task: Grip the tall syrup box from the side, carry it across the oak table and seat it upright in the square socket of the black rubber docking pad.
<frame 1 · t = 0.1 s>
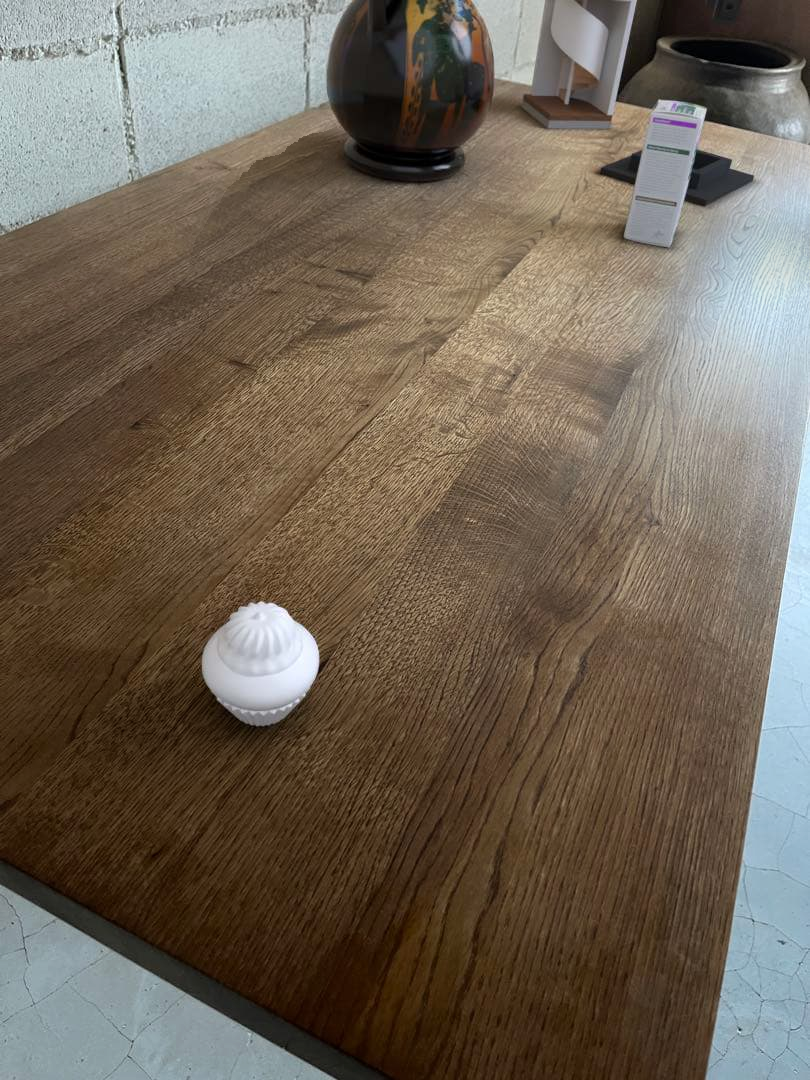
hand: (719, 15, 90), 25 cm above the table, tool pointing down, fingers open, 8 cm apart
syrup box: (648, 237, 111), on the table
muffin: (262, 706, 51), on the table
amphora vase: (403, 165, 124), on the table
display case: (564, 119, 149), on the table
dock pad: (677, 177, 129), on the table
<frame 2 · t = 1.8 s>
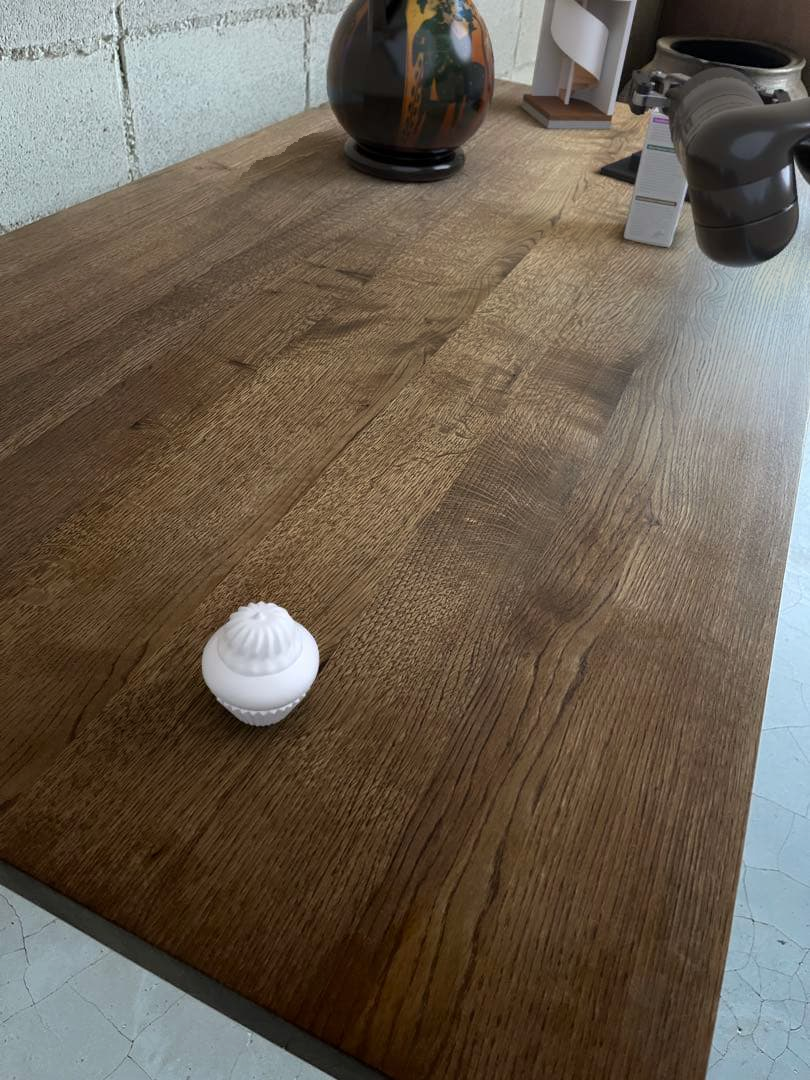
hand: (701, 83, 90), 19 cm above the table, tool horizontal, fingers open, 8 cm apart
nothing on the table moved.
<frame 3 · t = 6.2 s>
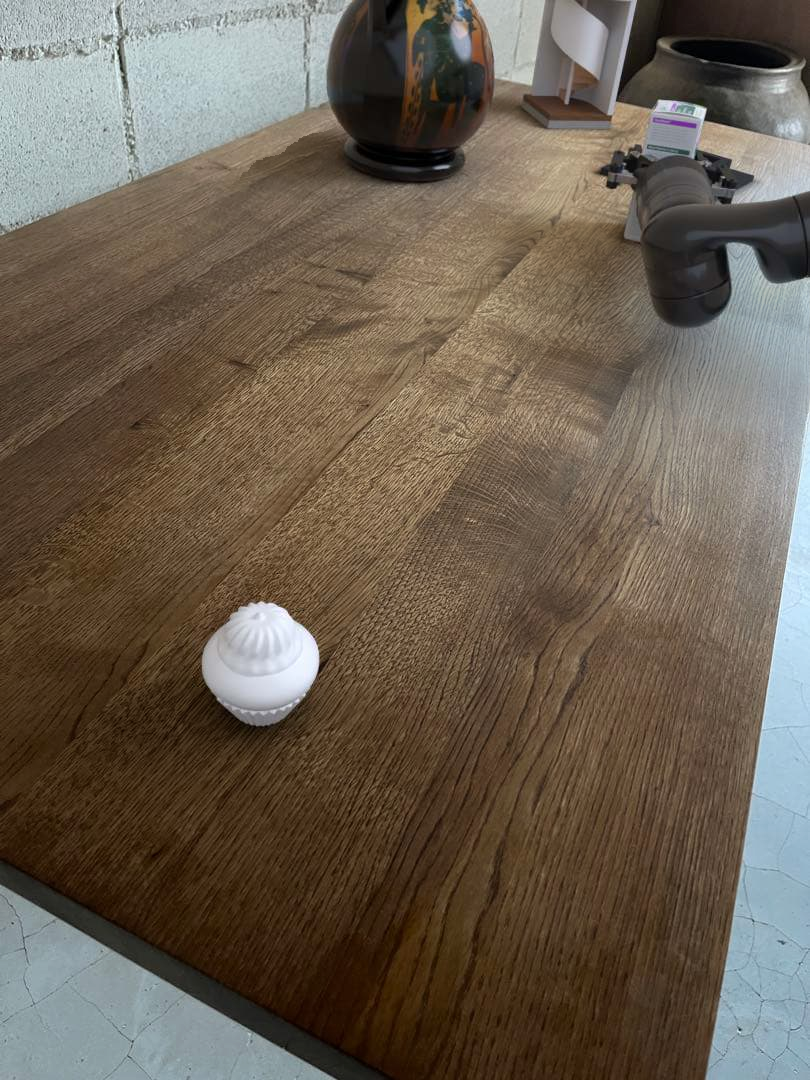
hand: (665, 157, 107), 8 cm above the table, tool horizontal, fingers closed on syrup box, 6 cm apart
syrup box: (648, 237, 111), on the table, touching gripper
everything else where it was.
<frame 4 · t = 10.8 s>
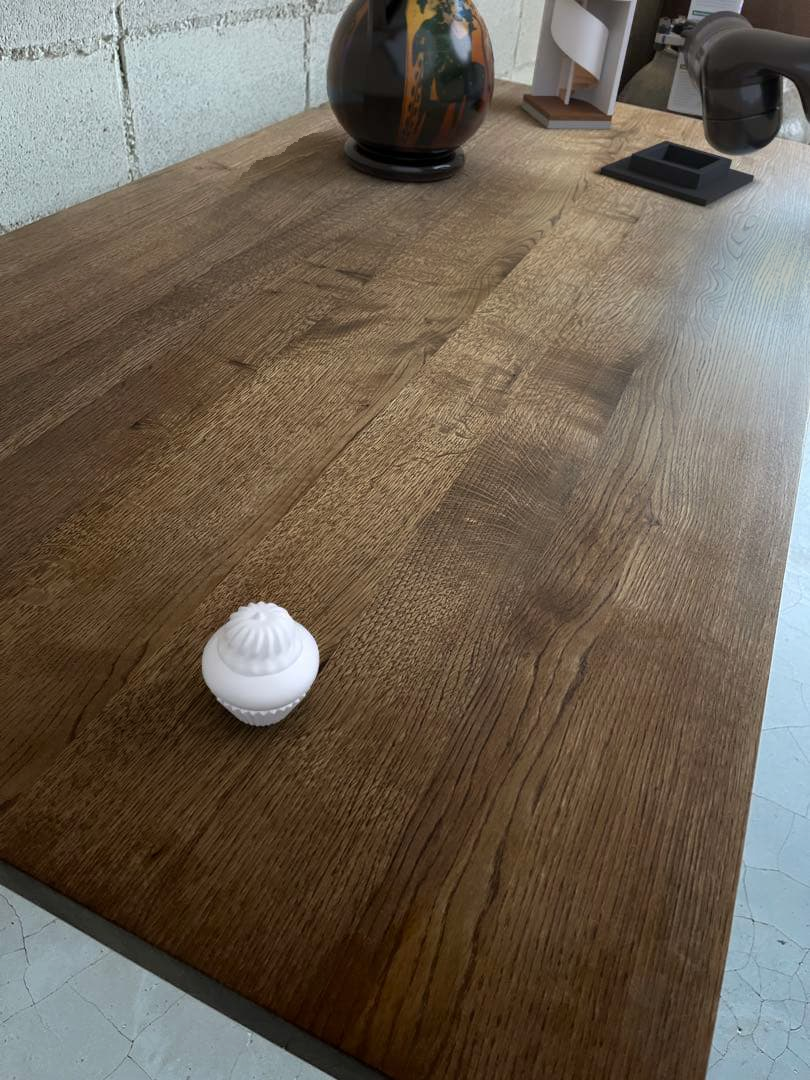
hand: (708, 29, 111), 20 cm above the table, tool horizontal, fingers closed on syrup box, 6 cm apart
syrup box: (689, 110, 115), point 11 cm above the table, touching gripper
everything else where it was.
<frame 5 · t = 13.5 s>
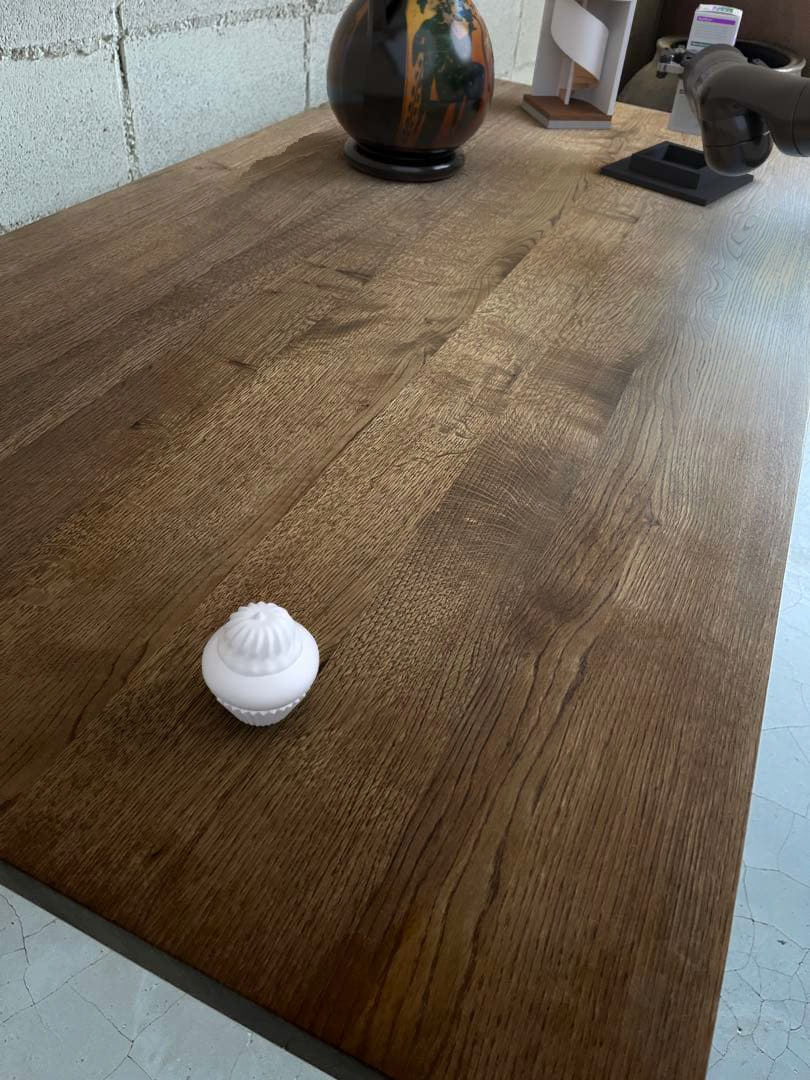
hand: (705, 57, 122), 15 cm above the table, tool horizontal, fingers closed on syrup box, 6 cm apart
syrup box: (688, 130, 125), point 6 cm above the table, touching gripper
everything else where it was.
when the fingers open (9 cm above the table, at t = 15.6 s): syrup box stays where it is, resting on dock pad.
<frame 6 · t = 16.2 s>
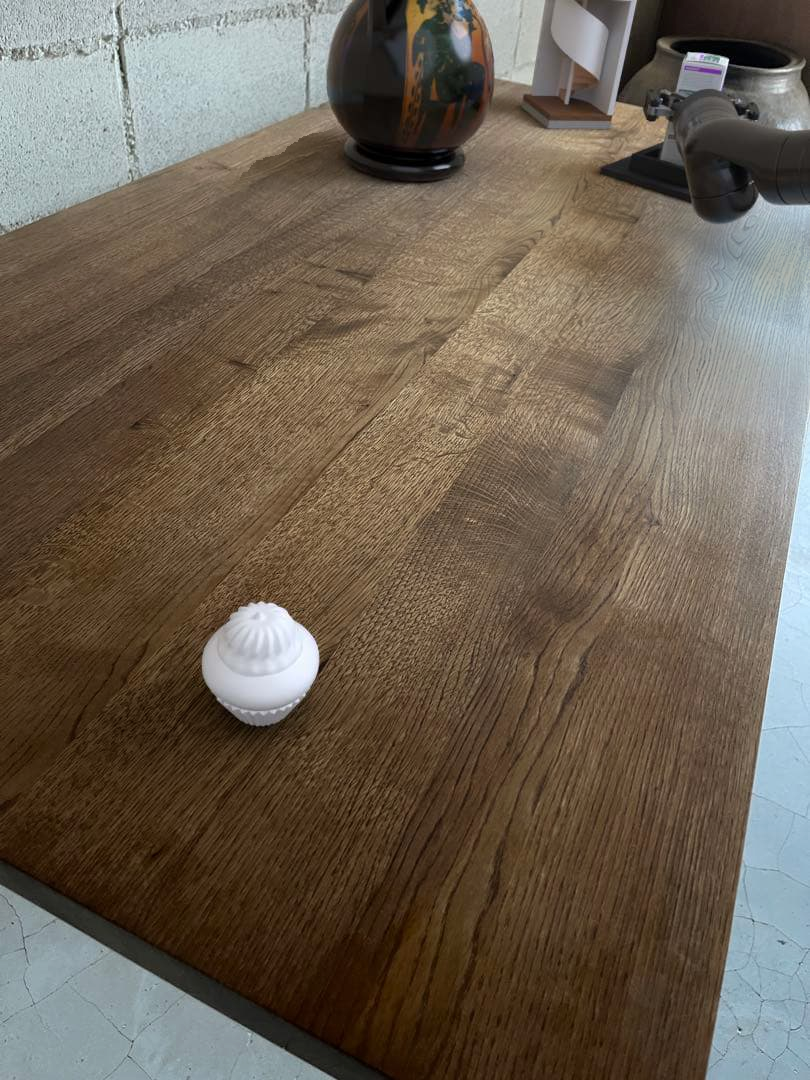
hand: (696, 97, 124), 10 cm above the table, tool horizontal, fingers open, 8 cm apart
syrup box: (677, 173, 129), point 1 cm above the table, touching dock pad
everything else where it was.
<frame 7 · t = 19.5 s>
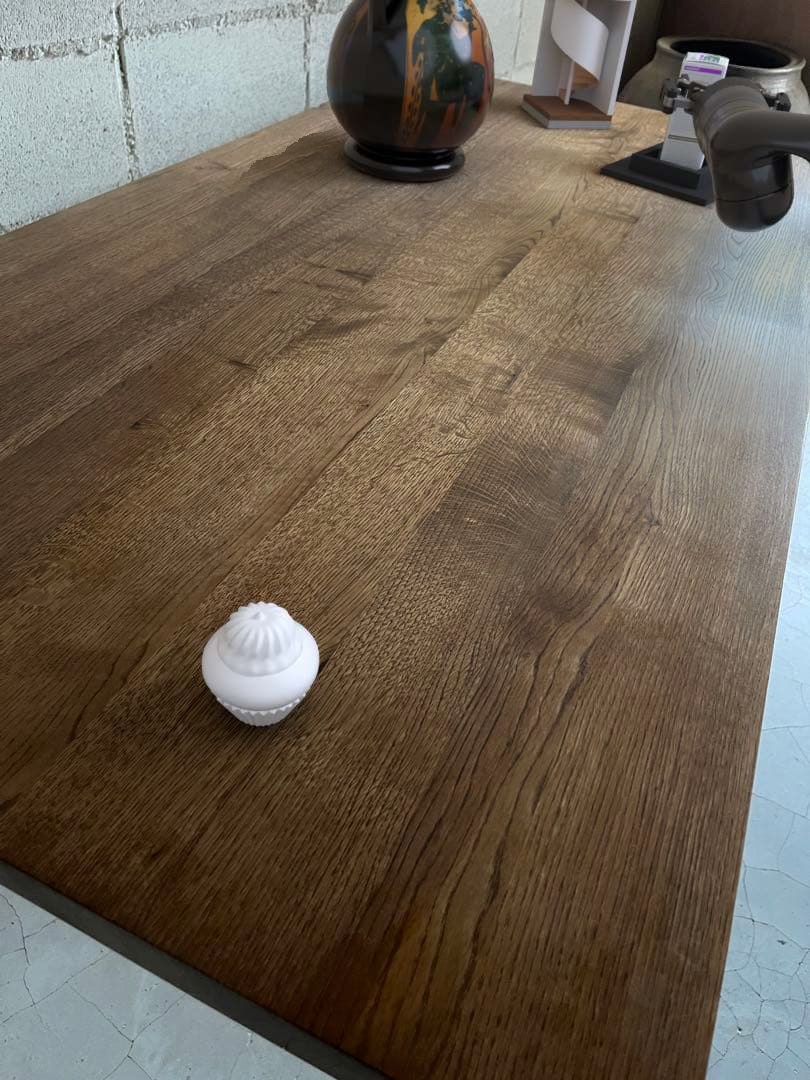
hand: (717, 87, 111), 14 cm above the table, tool horizontal, fingers open, 8 cm apart
nothing on the table moved.
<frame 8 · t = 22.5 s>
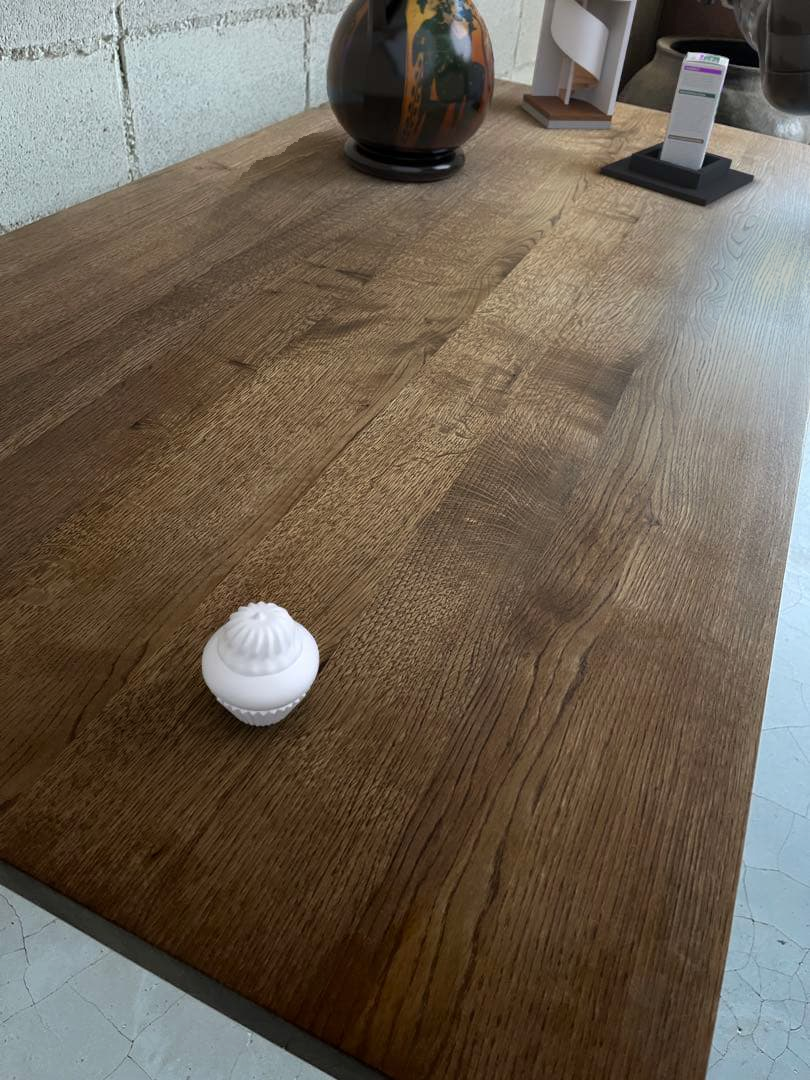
nothing on the table moved.
at the end: syrup box 0.2 cm off-centre on the dock pad, point 0.6 cm above the dock pad's base; syrup box tilted 0°; the gripper is holding nothing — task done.
